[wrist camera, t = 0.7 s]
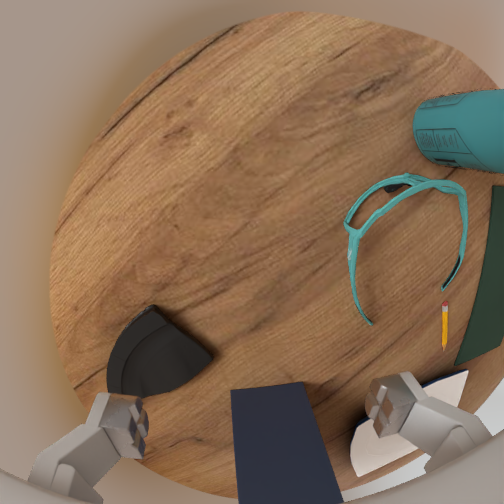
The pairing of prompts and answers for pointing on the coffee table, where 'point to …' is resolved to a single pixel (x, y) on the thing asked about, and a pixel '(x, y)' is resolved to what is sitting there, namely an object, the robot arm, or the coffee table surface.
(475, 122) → the beverage bottle
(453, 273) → the sunglasses
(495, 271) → the rubber mat
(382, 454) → the plate
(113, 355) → the curved wedge
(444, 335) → the pencil
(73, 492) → the robot arm
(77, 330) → the coffee table surface
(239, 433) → the blue tall block
